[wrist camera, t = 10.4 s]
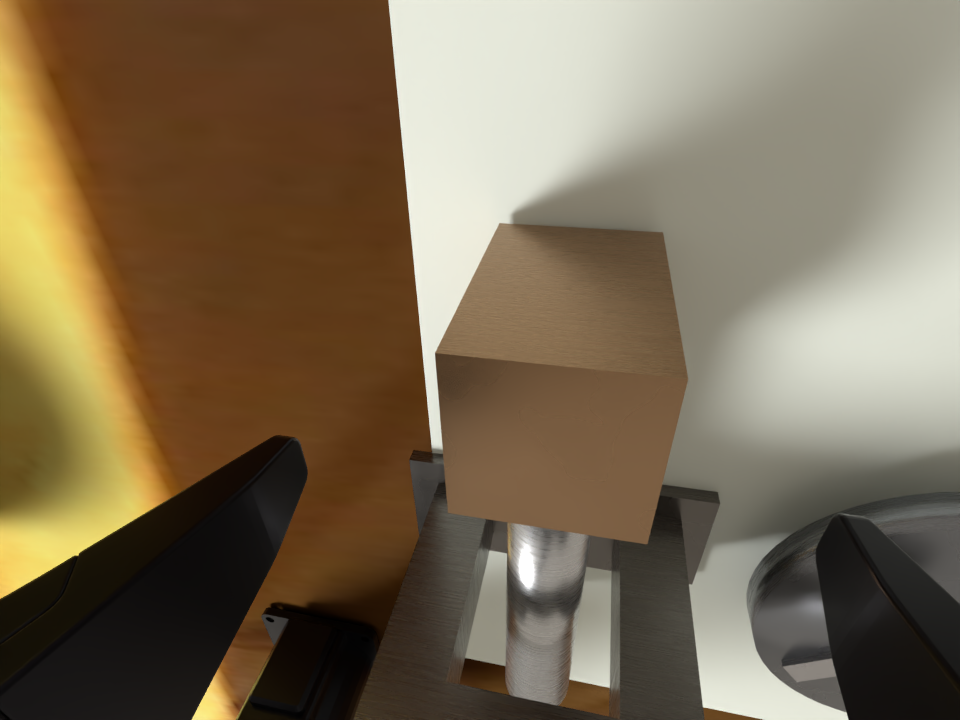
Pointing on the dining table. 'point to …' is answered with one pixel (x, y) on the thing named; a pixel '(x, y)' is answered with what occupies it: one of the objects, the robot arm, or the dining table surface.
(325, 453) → the dining table surface
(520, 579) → the wooden mallet
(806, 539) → the handwheel
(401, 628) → the iron eye
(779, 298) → the white board
